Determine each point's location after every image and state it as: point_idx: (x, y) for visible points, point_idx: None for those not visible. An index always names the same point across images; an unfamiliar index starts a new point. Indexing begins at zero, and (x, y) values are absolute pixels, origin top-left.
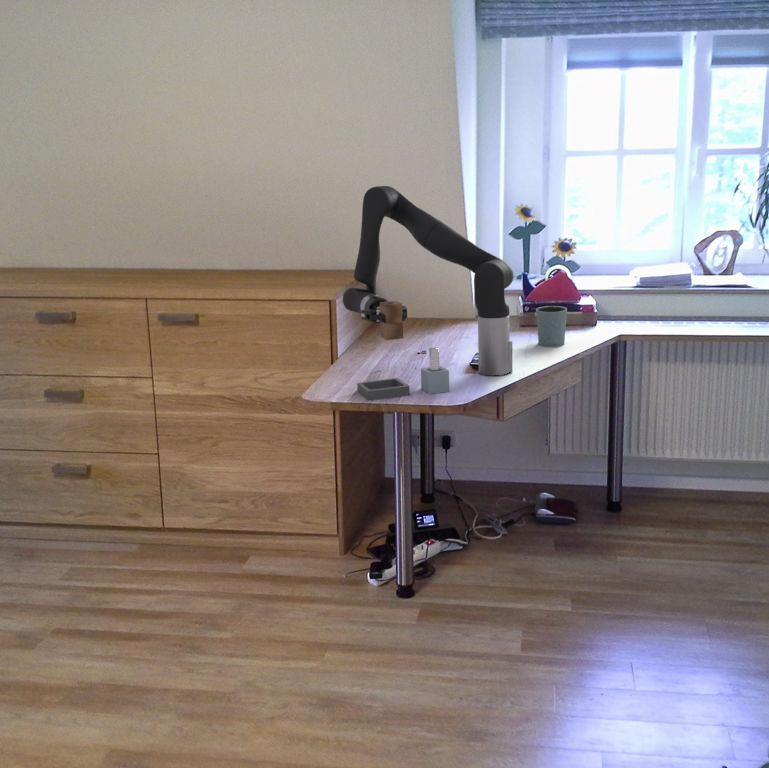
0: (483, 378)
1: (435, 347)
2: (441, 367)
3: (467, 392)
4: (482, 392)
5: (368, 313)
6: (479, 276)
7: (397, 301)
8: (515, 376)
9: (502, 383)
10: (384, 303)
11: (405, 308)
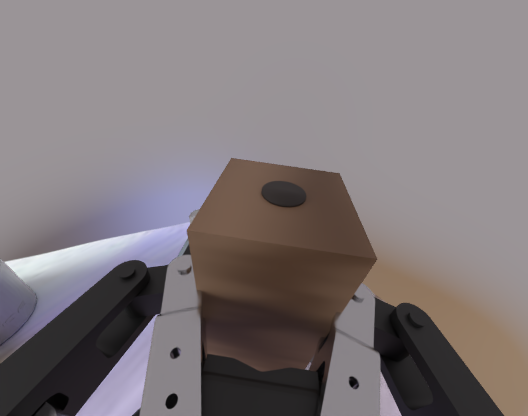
0: (65, 293)
1: (190, 220)
2: (182, 254)
3: (179, 241)
4: (164, 231)
5: (446, 347)
6: None
7: (207, 201)
8: (17, 269)
9: (91, 248)
10: (334, 204)
11: (80, 307)
